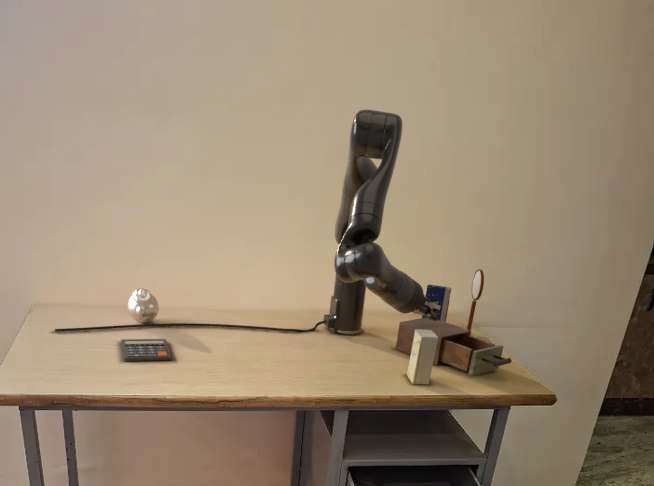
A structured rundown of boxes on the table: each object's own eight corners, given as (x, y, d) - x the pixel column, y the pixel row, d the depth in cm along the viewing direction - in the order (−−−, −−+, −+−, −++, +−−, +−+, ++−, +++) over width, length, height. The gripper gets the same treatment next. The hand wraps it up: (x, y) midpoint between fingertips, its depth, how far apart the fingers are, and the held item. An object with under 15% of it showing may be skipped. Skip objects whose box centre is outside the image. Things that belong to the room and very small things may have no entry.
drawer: (514, 374, 182) (519, 351, 179) (487, 381, 176) (492, 357, 173) (456, 352, 195) (460, 331, 192) (430, 358, 188) (433, 336, 185)
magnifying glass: (473, 342, 207) (487, 273, 197) (467, 342, 207) (481, 272, 197) (466, 333, 214) (479, 266, 204) (460, 333, 214) (474, 266, 204)
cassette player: (420, 323, 221) (427, 284, 215) (422, 321, 223) (428, 283, 217) (443, 327, 219) (450, 288, 213) (445, 325, 221) (452, 286, 215)
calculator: (123, 357, 174) (121, 338, 186) (124, 360, 174) (121, 342, 187) (171, 356, 177) (165, 338, 189) (171, 359, 177) (165, 341, 190)
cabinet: (465, 358, 193) (471, 331, 189) (436, 365, 187) (441, 337, 183) (424, 343, 203) (429, 316, 200) (395, 349, 197) (399, 322, 193)
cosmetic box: (406, 375, 178) (414, 328, 172) (423, 376, 179) (431, 329, 172) (412, 384, 173) (420, 336, 167) (430, 385, 173) (438, 337, 167)
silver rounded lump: (122, 325, 201) (120, 289, 196) (135, 316, 209) (134, 282, 204) (152, 328, 199) (151, 293, 194) (164, 320, 207) (163, 285, 202)
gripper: (429, 278, 154) (464, 305, 167) (382, 271, 163) (418, 298, 176) (417, 311, 155) (452, 335, 168) (371, 302, 163) (408, 326, 176)
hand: (435, 316), depth 172 cm, fingers closed
